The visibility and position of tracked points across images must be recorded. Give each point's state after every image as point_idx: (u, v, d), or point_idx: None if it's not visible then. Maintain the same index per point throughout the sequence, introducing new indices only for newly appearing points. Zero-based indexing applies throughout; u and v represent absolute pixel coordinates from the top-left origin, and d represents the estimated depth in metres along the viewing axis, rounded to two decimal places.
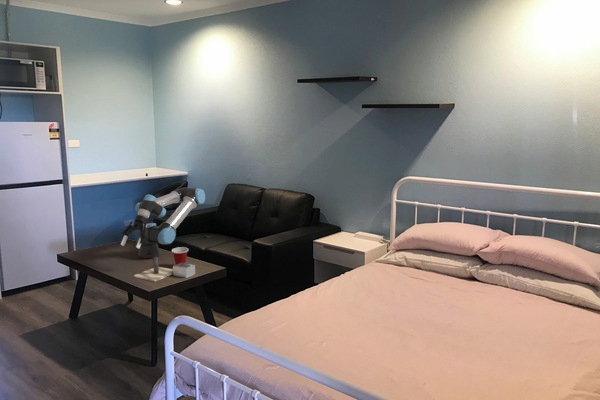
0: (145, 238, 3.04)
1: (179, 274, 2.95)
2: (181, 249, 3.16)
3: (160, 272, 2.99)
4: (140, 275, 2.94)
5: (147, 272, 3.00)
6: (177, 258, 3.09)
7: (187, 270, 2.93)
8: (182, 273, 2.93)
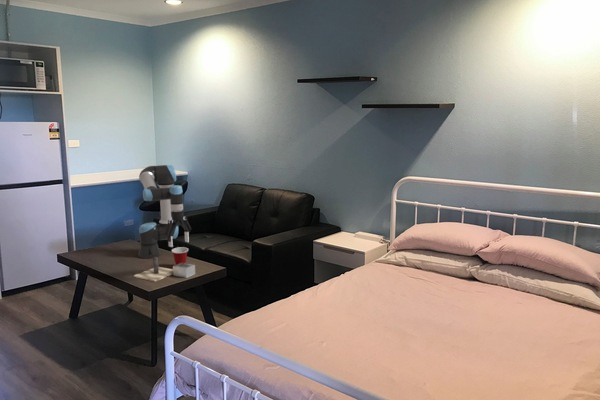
0: None
1: (179, 274, 2.95)
2: (181, 249, 3.16)
3: (160, 272, 2.99)
4: (140, 275, 2.94)
5: (147, 272, 3.00)
6: (177, 258, 3.09)
7: (187, 270, 2.93)
8: (182, 273, 2.93)
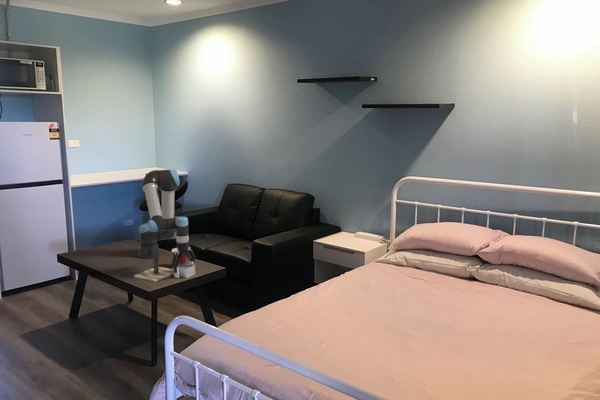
0: None
1: (179, 274, 2.95)
2: None
3: (160, 272, 2.99)
4: (140, 275, 2.94)
5: (147, 272, 3.00)
6: None
7: (187, 270, 2.93)
8: (182, 273, 2.93)
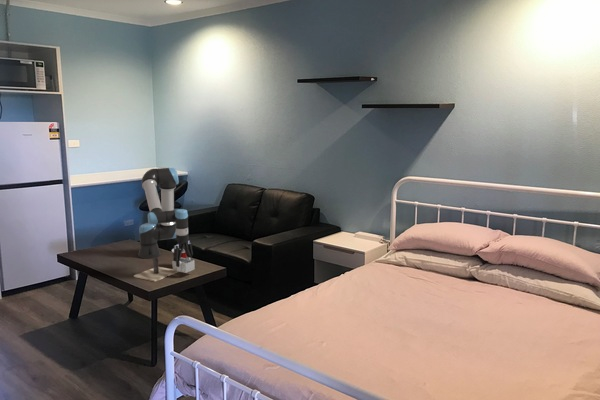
0: None
1: None
2: None
3: (160, 272, 2.99)
4: (140, 275, 2.94)
5: (147, 272, 3.00)
6: None
7: (187, 265, 2.92)
8: (181, 268, 2.93)
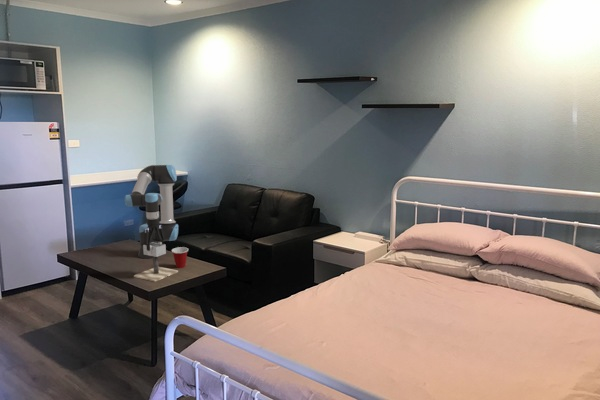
0: None
1: None
2: (181, 249, 3.16)
3: (160, 272, 2.99)
4: (140, 275, 2.94)
5: (147, 272, 3.00)
6: (177, 258, 3.09)
7: (157, 249, 2.91)
8: (152, 252, 2.91)
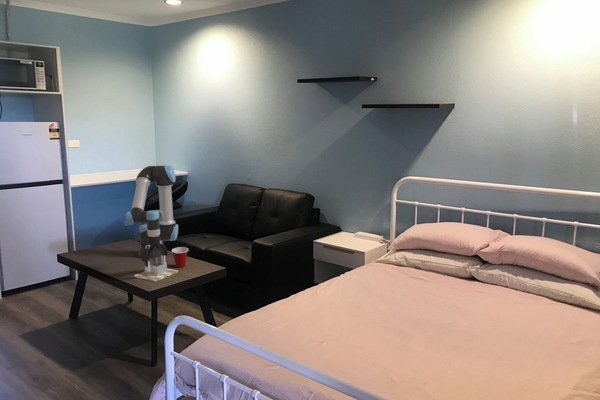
0: None
1: (150, 272, 2.95)
2: (181, 249, 3.16)
3: None
4: (140, 275, 2.94)
5: None
6: (177, 258, 3.09)
7: (159, 268, 2.93)
8: (153, 271, 2.94)
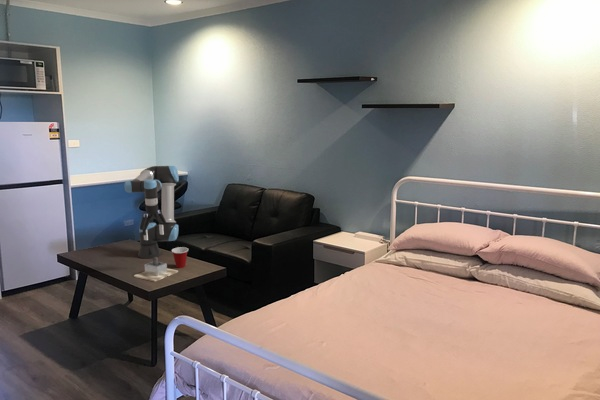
0: None
1: (150, 272, 2.95)
2: (181, 249, 3.16)
3: None
4: (140, 275, 2.94)
5: None
6: (177, 258, 3.09)
7: (159, 268, 2.93)
8: (153, 271, 2.94)
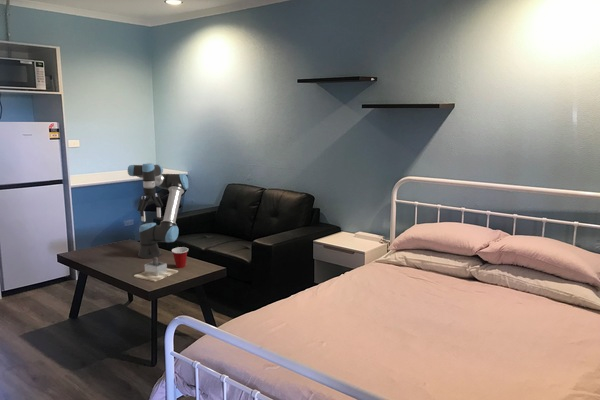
0: None
1: (150, 272, 2.95)
2: (181, 249, 3.16)
3: None
4: (140, 275, 2.94)
5: None
6: (177, 258, 3.09)
7: (159, 268, 2.93)
8: (153, 271, 2.94)
